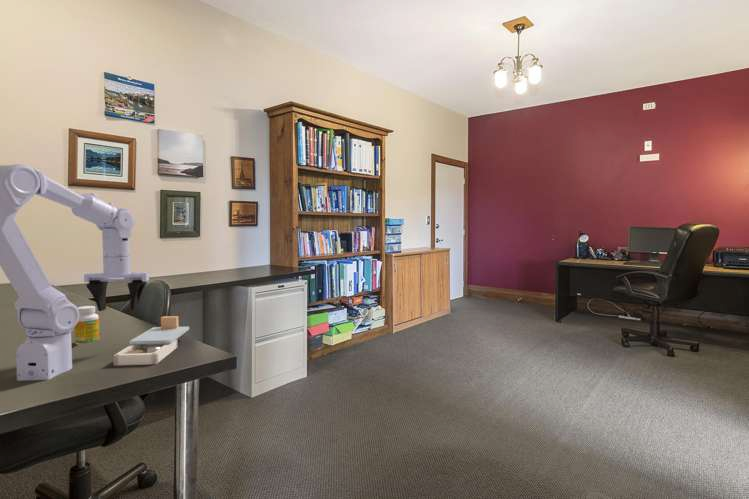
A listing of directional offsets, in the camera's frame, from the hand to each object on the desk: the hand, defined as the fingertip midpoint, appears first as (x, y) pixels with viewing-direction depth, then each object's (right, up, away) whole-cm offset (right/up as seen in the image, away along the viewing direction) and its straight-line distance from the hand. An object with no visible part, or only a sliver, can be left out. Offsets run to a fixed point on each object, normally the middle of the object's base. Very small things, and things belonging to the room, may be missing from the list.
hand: (118, 309), depth 103 cm
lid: (+10, -7, +2) cm, 12 cm away
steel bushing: (+12, -10, -6) cm, 17 cm away
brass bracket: (+10, -10, -10) cm, 17 cm away
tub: (+11, -11, -6) cm, 16 cm away
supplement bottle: (-13, -10, +7) cm, 18 cm away
